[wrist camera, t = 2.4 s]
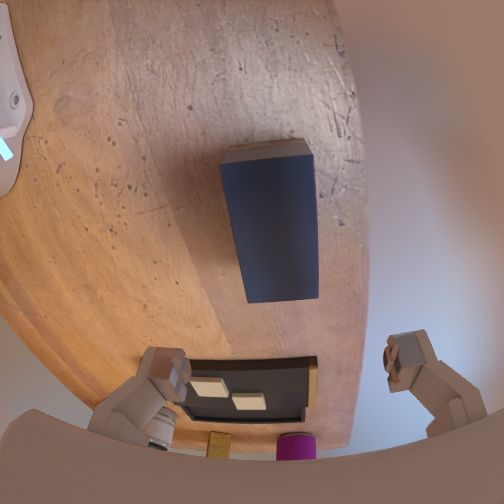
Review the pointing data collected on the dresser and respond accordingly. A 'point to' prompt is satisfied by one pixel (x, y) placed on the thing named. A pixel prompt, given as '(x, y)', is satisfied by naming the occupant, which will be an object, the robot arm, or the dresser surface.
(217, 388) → the chalk tile
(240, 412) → the tray
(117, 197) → the dresser surface
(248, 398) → the chalk tile
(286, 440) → the beverage can
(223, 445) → the candy box
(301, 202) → the eraser
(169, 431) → the camera lens
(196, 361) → the slate board
